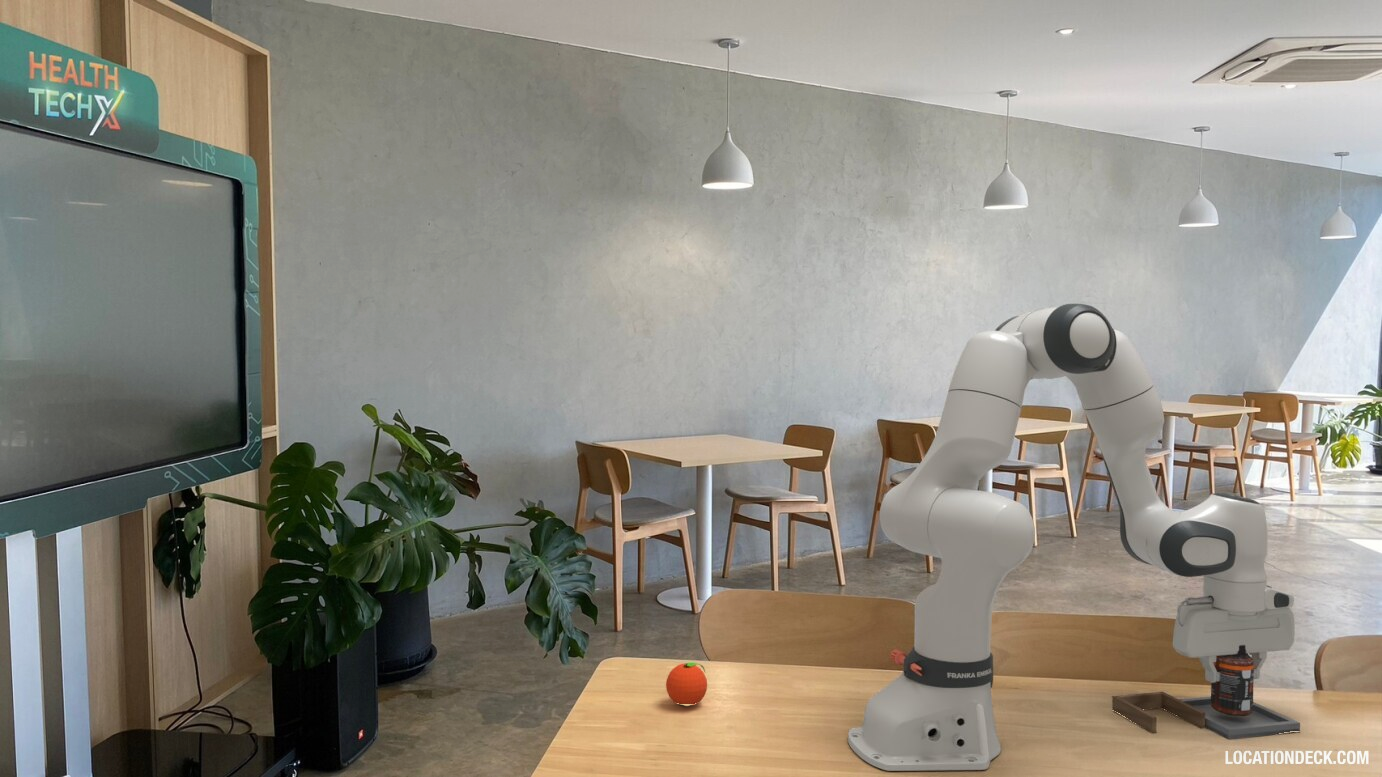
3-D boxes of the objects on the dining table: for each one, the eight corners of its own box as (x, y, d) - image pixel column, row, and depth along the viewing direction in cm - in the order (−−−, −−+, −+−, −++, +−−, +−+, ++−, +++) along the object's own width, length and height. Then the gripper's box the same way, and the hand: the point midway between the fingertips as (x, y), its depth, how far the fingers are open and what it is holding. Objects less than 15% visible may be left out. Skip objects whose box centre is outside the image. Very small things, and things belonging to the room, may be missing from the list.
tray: (1229, 739, 146) (1229, 729, 146) (1168, 709, 159) (1169, 700, 159) (1299, 732, 149) (1300, 722, 149) (1235, 702, 162) (1235, 694, 162)
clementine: (690, 693, 166) (690, 652, 166) (720, 703, 162) (720, 661, 161) (657, 705, 161) (657, 663, 160) (686, 716, 156) (686, 673, 156)
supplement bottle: (1258, 719, 151) (1260, 648, 150) (1217, 716, 152) (1219, 645, 152) (1245, 705, 157) (1246, 637, 156) (1205, 702, 158) (1207, 634, 157)
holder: (1152, 733, 149) (1152, 717, 149) (1112, 710, 158) (1112, 696, 158) (1205, 728, 151) (1205, 712, 151) (1162, 706, 160) (1162, 691, 160)
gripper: (1193, 603, 148) (1191, 691, 149) (1303, 596, 153) (1301, 681, 153) (1164, 593, 154) (1162, 678, 155) (1270, 586, 159) (1269, 669, 159)
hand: (1232, 679), depth 154 cm, fingers closed on supplement bottle, 6 cm apart
